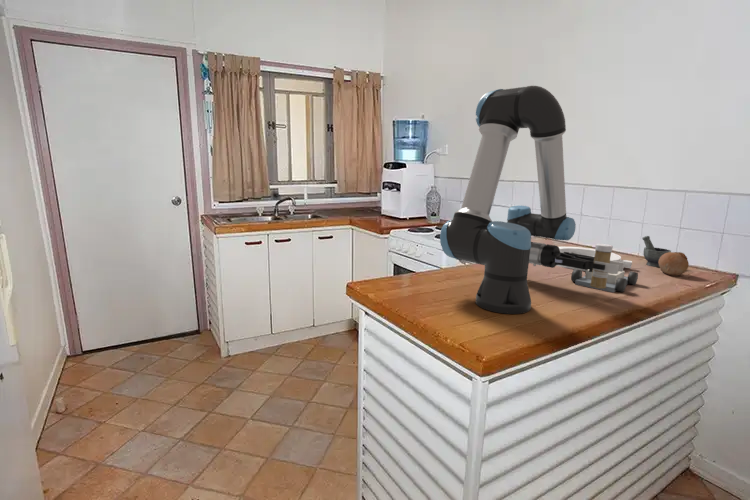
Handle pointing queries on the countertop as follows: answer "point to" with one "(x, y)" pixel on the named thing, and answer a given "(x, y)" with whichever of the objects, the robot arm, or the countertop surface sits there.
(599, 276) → the spice jar
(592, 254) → the white circle with bar
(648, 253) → the mortar and pestle
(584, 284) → the toy chassis
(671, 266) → the brown round lump
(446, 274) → the countertop surface
